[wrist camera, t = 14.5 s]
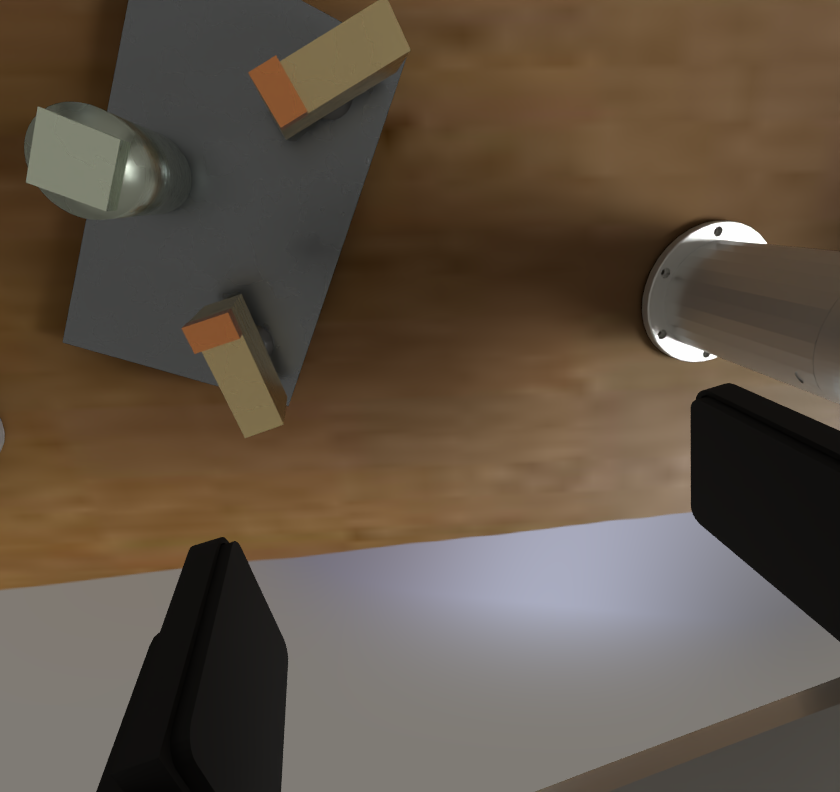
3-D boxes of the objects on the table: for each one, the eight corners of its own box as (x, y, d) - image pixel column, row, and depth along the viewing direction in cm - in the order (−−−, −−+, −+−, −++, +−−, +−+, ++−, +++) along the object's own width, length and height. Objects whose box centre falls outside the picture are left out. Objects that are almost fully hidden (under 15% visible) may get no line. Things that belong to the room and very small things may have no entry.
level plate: (401, 64, 35) (449, -9, 23) (289, 396, 42) (279, 478, 30) (154, -67, 30) (45, -251, 18) (74, 335, 37) (-44, 402, 25)
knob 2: (370, 35, 32) (388, -15, 24) (392, 80, 33) (415, 44, 25) (263, 102, 32) (248, 72, 24) (288, 143, 33) (280, 127, 25)
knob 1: (289, 387, 39) (283, 432, 31) (255, 398, 39) (242, 446, 31) (245, 288, 36) (227, 312, 28) (209, 300, 35) (181, 328, 28)
